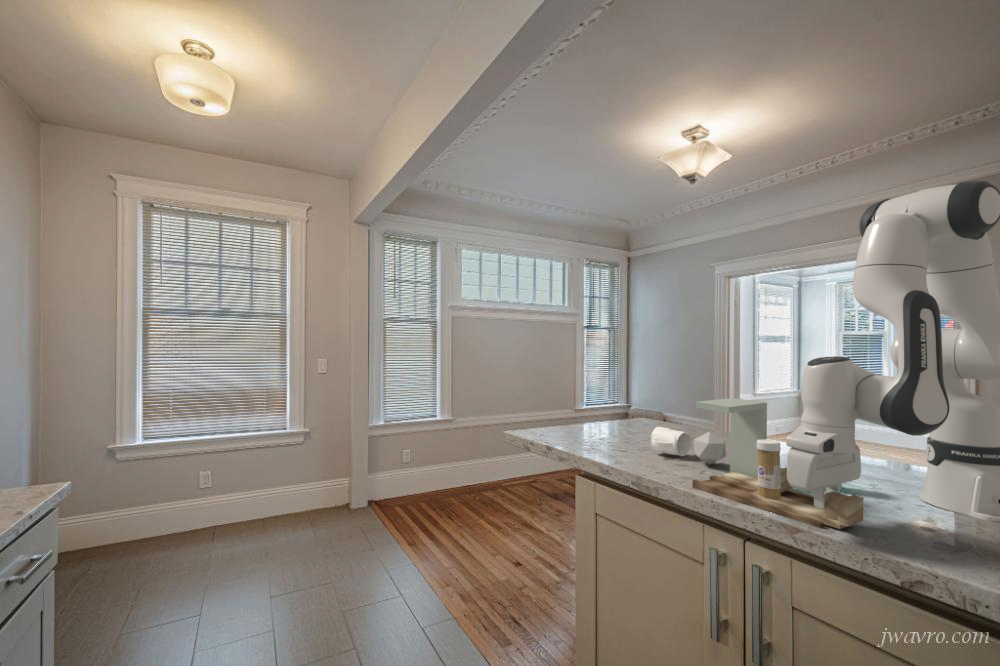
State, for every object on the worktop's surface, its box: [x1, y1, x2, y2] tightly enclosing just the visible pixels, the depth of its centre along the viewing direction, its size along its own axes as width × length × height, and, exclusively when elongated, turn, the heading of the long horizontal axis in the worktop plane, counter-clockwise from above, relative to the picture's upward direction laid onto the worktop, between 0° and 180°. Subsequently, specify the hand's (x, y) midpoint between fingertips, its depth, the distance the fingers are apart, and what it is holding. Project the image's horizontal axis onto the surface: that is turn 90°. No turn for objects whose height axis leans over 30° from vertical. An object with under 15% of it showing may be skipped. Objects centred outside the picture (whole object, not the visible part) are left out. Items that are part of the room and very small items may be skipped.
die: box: [693, 431, 727, 466], centre depth 132 cm, size 8×9×10 cm
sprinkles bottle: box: [757, 438, 782, 500], centre depth 100 cm, size 5×5×14 cm
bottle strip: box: [749, 491, 864, 530], centre depth 94 cm, size 20×6×6 cm, turn 29°
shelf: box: [695, 397, 768, 479], centre depth 113 cm, size 9×15×22 cm, turn 119°
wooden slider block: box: [721, 466, 794, 493], centre depth 110 cm, size 15×6×6 cm, turn 29°
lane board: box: [691, 471, 828, 529], centre depth 104 cm, size 29×15×2 cm, turn 29°
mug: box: [650, 426, 693, 457], centre depth 144 cm, size 12×9×8 cm
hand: (825, 506), depth 90 cm, fingers closed on bottle strip, 2 cm apart
